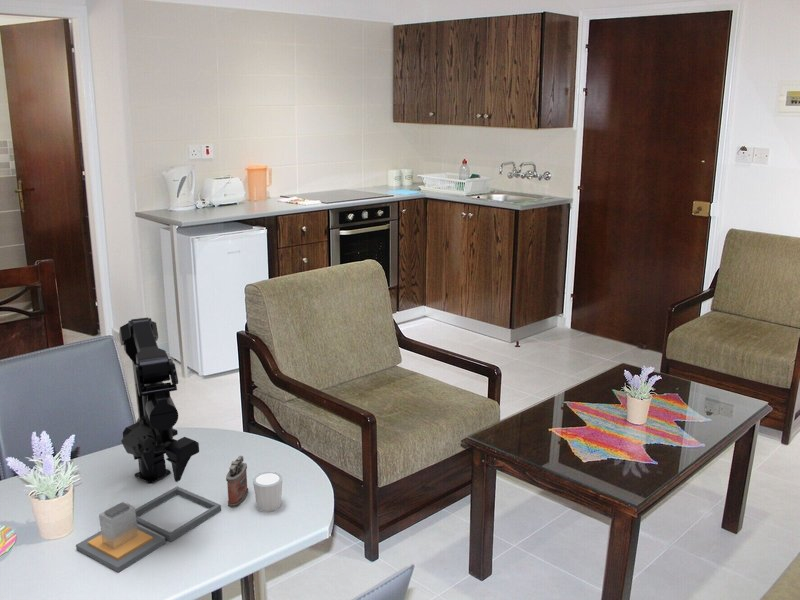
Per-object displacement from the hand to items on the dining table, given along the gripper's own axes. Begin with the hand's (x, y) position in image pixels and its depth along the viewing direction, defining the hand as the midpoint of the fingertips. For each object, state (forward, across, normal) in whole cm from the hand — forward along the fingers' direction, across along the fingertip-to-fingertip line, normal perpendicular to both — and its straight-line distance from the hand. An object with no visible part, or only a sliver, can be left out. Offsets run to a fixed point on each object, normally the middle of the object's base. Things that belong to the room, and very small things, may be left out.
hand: (163, 475), depth 170 cm
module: (+10, -1, -12) cm, 16 cm away
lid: (+12, -1, -12) cm, 17 cm away
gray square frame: (+12, -1, +3) cm, 12 cm away
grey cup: (+12, +14, +18) cm, 26 cm away
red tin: (+12, +6, +16) cm, 21 cm away
